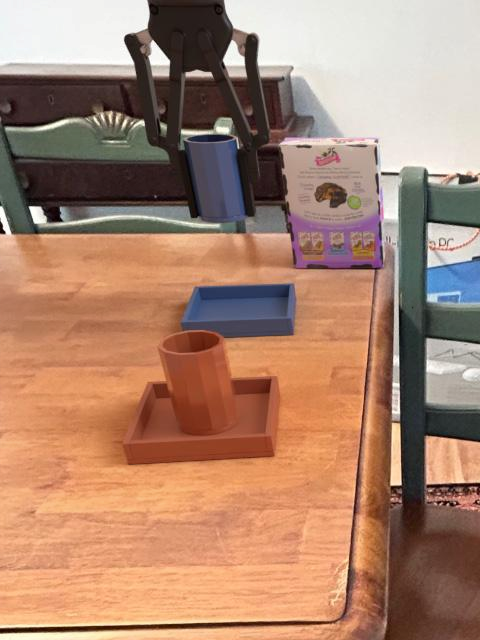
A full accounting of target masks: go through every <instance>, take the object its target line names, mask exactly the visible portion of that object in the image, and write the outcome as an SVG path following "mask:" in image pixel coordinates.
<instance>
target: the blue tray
mask: <svg viewBox="0 0 480 640" xmlns="http://www.w3.org/2000/svg"><path fill="white" fill-rule="evenodd" d="M295 287H296V286H295V283H293V282H291V283H260V284H259V283H257V284H256V283H255V284H227V285H202V286H199V285H197V286H194V287H193V290H192V293H191V295H190V298H189V300H188V303H187V305H186V308H185V310H184V313H183V316H182V318H181V320H180V326H181V330H182V332H183V331H191V330H206V331H212V332H217V333H219V334H220V335H221V336H223V337H224V338H225V339H226V338H247V337H249V338H251V337H270V336H271V337H272V336H273V337H274V336H275V337H276V336H293V335H295V320H296V309H297V308H296V307H297V306H296V305H297V295H296V293H297V292H296V288H295Z"/></svg>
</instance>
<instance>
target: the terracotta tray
mask: <svg viewBox="0 0 480 640" xmlns="http://www.w3.org/2000/svg"><path fill="white" fill-rule="evenodd" d="M232 380H233V385H234V390H235V396H236V401H237V406H238V416H239V421H238V423H237V424H236V425H235V426H234V427H232V428H231V429H229V430H227V431H224V432H222V433H218V434H213V435H192V434H188V433H186V432H184V431H182V430H181V429H180V428H179V425H178V422H177V421H176V417H175V413H174V410H173V406H172V402H171V398H170V394H169V390H168V386H167V382H166V380H161V381H160V380H157V381H156V380H155V381H147V383H146V385H145V387H144V391H143V392H142V394H141V396H140V399H139V402H138V404H137V407H136V409H135V411H134V414H133V416H132V418H131V421H130V423H129V426H128V428H127V431H126V434H125V435H124V438H123V441H122V443H121V445H122V448H123V452H124V455H125V458H126V462H127V464H128V465H139V464H157V463H160V464H161V463H174V462H175V463H176V462H193V461H208V460H210V461H211V460H227V459H244V458H260V457H261V458H262V457H274V456H275V453H276V444H277V443H276V442H277V433H278V432H277V431H278V423H279V410H280V398H281V391H280V383H279V378H278V376H277V375H272V376H271V375H268V376H267V375H265V376H246V377H244V376H243V377H232Z"/></svg>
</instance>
